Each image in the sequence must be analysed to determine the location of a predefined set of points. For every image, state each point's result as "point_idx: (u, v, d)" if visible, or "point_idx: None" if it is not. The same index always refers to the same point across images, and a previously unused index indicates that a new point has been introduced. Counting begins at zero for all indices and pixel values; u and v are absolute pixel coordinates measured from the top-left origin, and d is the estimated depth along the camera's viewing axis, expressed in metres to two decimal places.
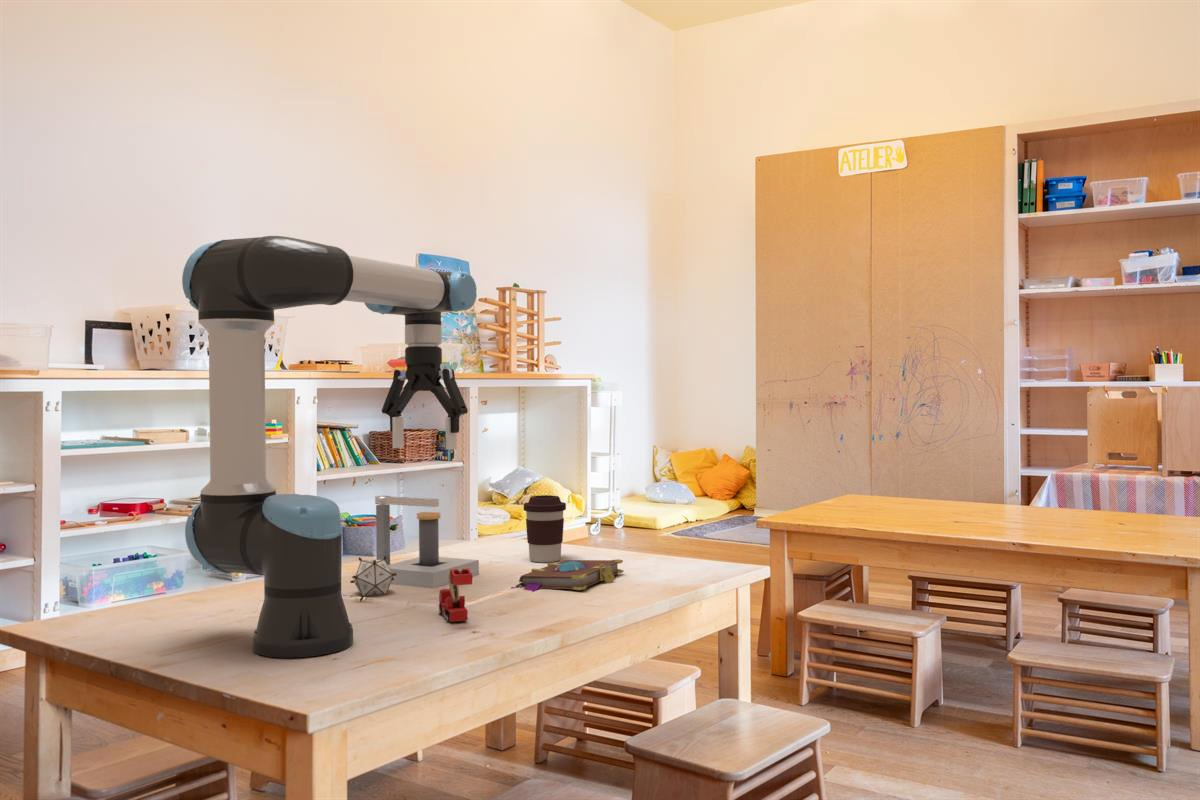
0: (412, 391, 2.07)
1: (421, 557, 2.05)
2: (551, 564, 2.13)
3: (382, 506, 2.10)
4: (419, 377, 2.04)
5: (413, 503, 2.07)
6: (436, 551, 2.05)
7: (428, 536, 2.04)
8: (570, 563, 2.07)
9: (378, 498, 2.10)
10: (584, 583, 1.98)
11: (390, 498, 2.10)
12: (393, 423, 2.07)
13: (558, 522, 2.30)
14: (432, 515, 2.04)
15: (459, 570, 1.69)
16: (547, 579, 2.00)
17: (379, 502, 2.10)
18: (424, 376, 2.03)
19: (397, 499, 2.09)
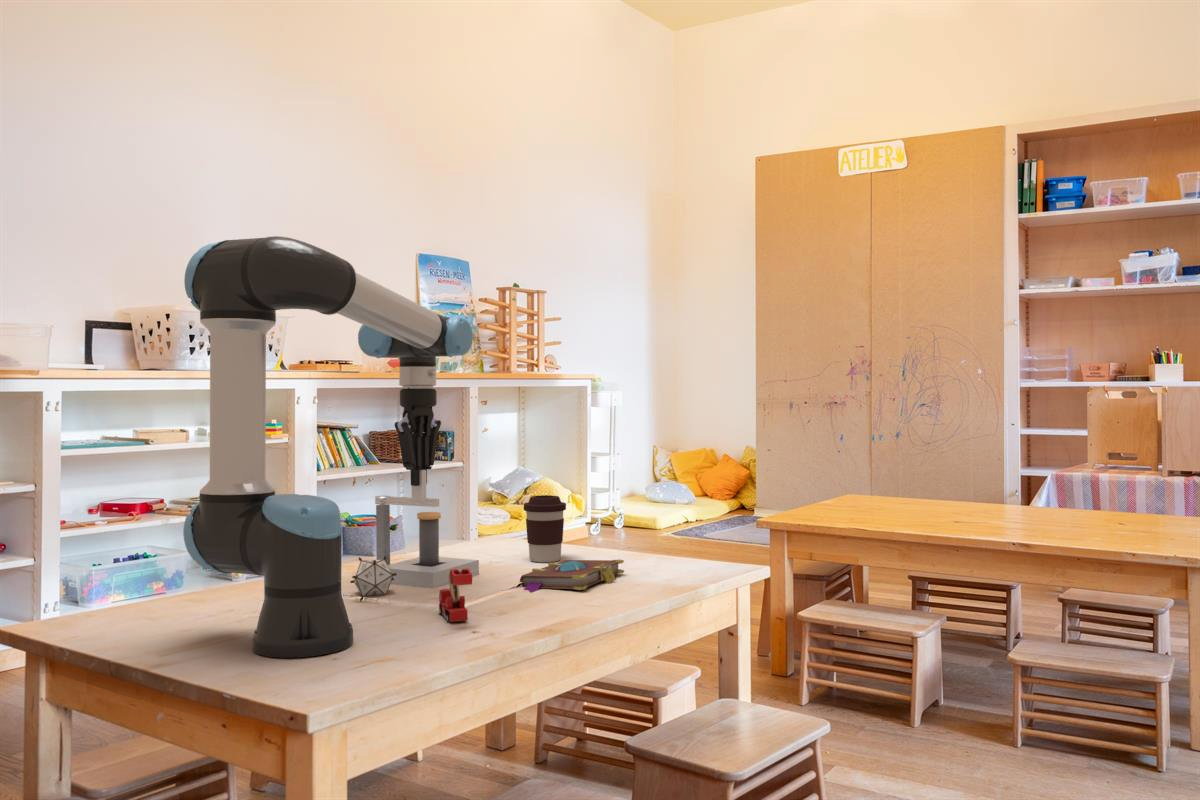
0: None
1: (421, 557, 2.05)
2: (552, 564, 2.13)
3: (382, 506, 2.10)
4: None
5: (413, 503, 2.07)
6: (436, 551, 2.05)
7: (429, 536, 2.04)
8: (571, 563, 2.07)
9: (378, 498, 2.10)
10: (585, 583, 1.98)
11: (390, 498, 2.10)
12: None
13: (558, 522, 2.30)
14: (432, 515, 2.04)
15: (459, 570, 1.69)
16: (548, 579, 2.00)
17: (379, 502, 2.10)
18: None
19: (397, 499, 2.09)
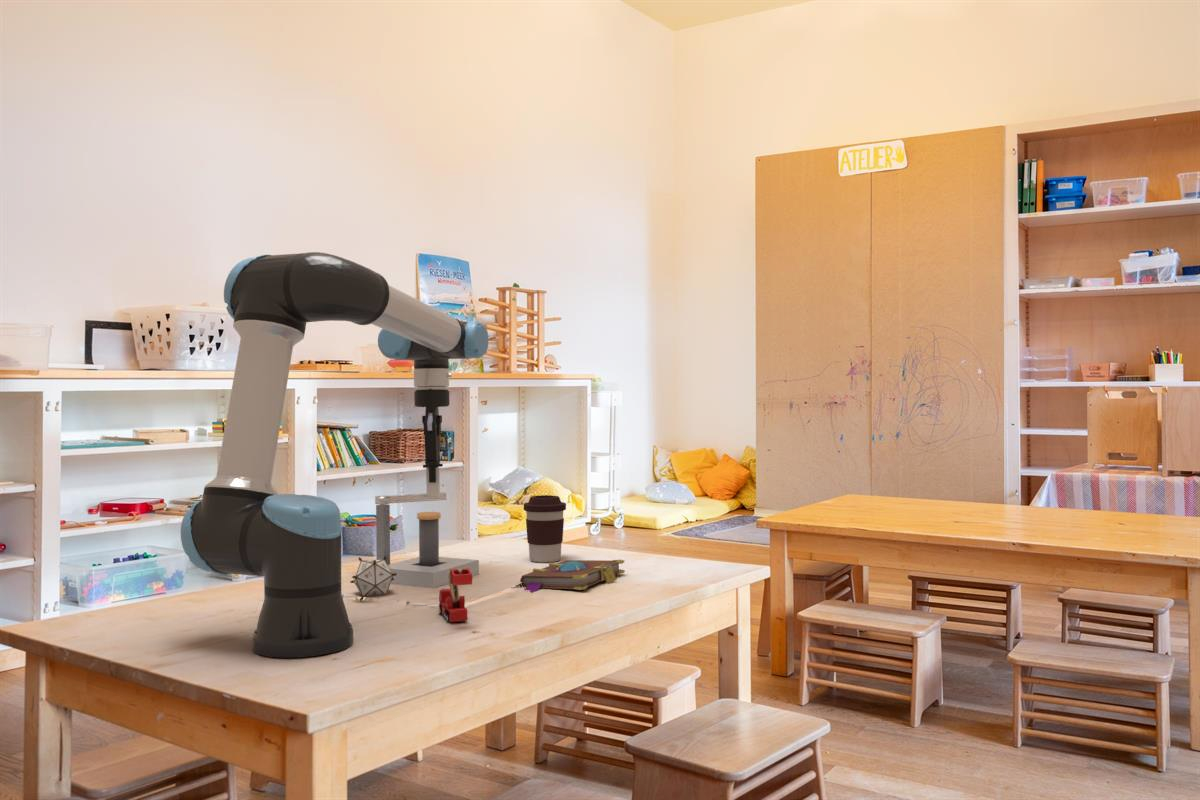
0: None
1: (421, 557, 2.05)
2: (552, 564, 2.13)
3: (382, 506, 2.10)
4: None
5: (423, 498, 2.15)
6: (436, 551, 2.05)
7: (428, 536, 2.04)
8: (571, 563, 2.07)
9: (385, 498, 2.10)
10: (585, 583, 1.98)
11: (396, 497, 2.12)
12: None
13: (558, 522, 2.30)
14: (432, 515, 2.04)
15: (459, 570, 1.69)
16: (548, 579, 2.00)
17: (386, 502, 2.10)
18: (422, 419, 2.13)
19: (404, 497, 2.13)
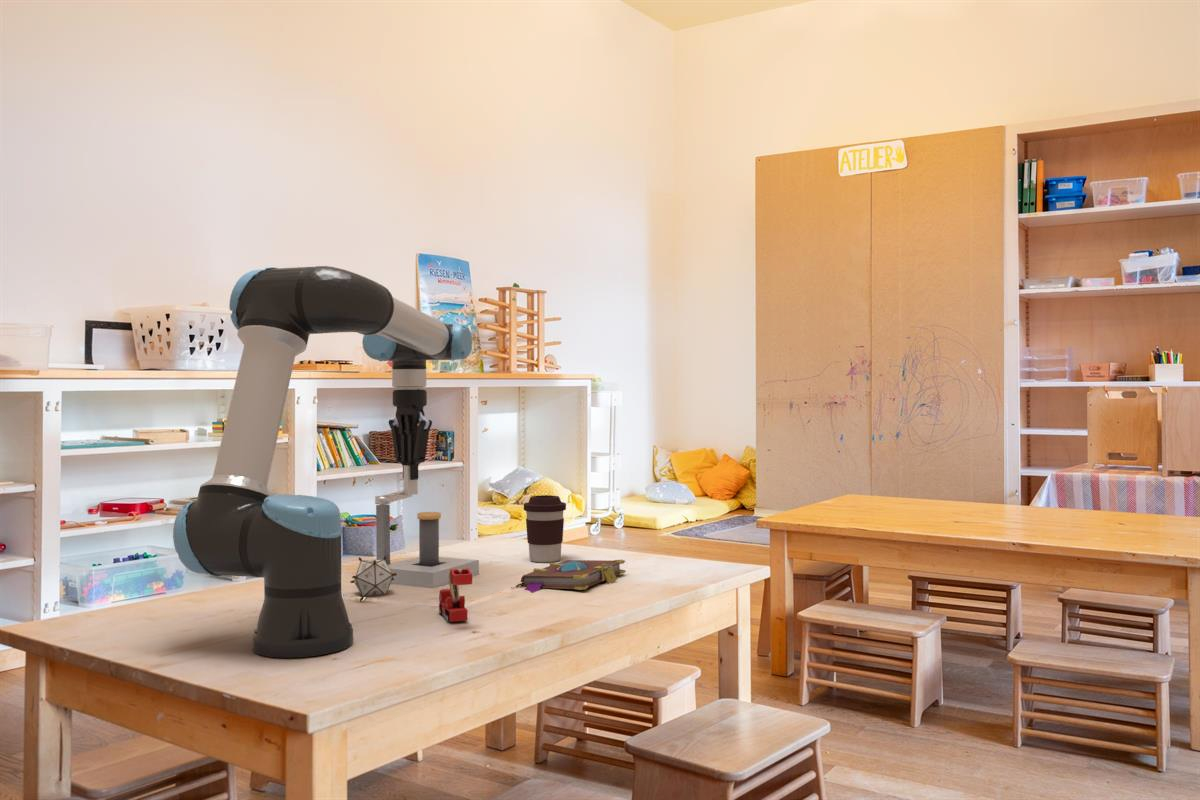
0: None
1: (421, 557, 2.05)
2: (553, 564, 2.13)
3: (382, 506, 2.10)
4: (404, 414, 2.21)
5: (402, 496, 2.20)
6: (436, 551, 2.05)
7: (429, 536, 2.04)
8: (572, 563, 2.06)
9: (389, 497, 2.11)
10: (586, 583, 1.98)
11: (391, 496, 2.14)
12: (404, 471, 2.20)
13: (558, 522, 2.30)
14: (432, 515, 2.04)
15: (459, 570, 1.69)
16: (549, 579, 1.99)
17: (390, 501, 2.11)
18: (407, 418, 2.19)
19: (394, 495, 2.16)
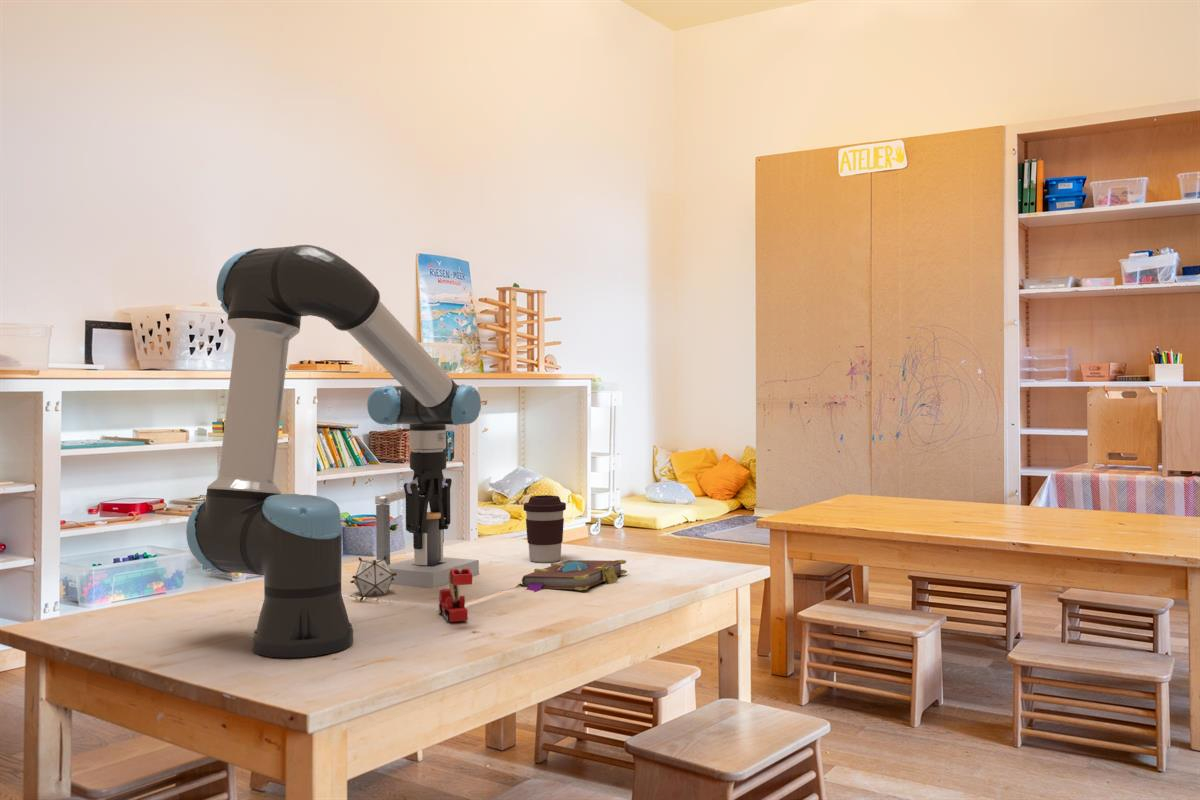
0: (433, 497, 2.07)
1: None
2: (554, 564, 2.13)
3: (382, 506, 2.10)
4: None
5: (401, 496, 2.20)
6: (436, 551, 2.05)
7: (428, 536, 2.04)
8: (573, 563, 2.06)
9: (390, 497, 2.11)
10: (586, 583, 1.98)
11: (391, 496, 2.14)
12: None
13: (558, 522, 2.30)
14: (432, 515, 2.04)
15: (459, 570, 1.69)
16: (549, 579, 1.99)
17: (390, 501, 2.12)
18: None
19: (394, 495, 2.16)
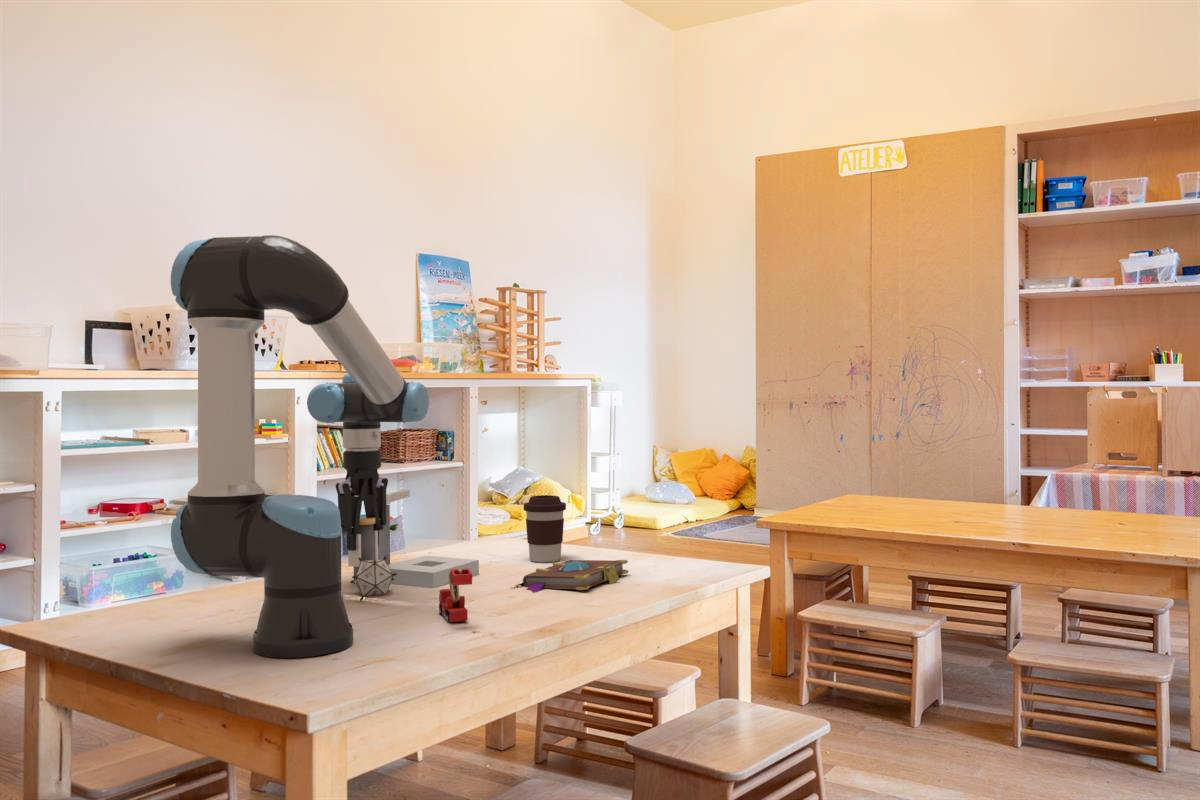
0: (367, 497, 2.02)
1: None
2: (556, 564, 2.13)
3: None
4: None
5: (401, 496, 2.20)
6: (370, 557, 2.00)
7: (362, 542, 1.99)
8: (574, 563, 2.06)
9: (390, 497, 2.11)
10: (587, 583, 1.98)
11: (391, 496, 2.14)
12: None
13: (558, 522, 2.30)
14: (366, 520, 1.99)
15: (459, 570, 1.69)
16: (550, 579, 1.99)
17: (390, 501, 2.12)
18: None
19: (394, 495, 2.16)
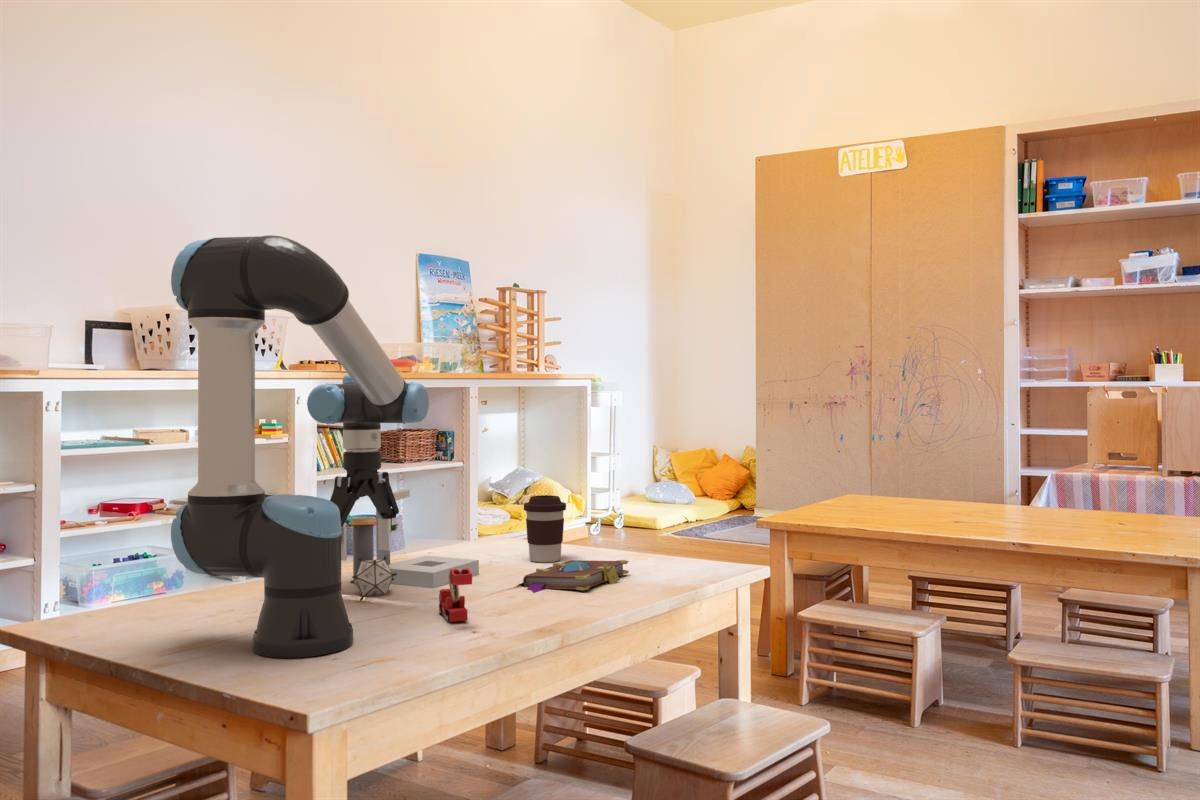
0: (372, 495, 2.04)
1: (355, 563, 2.00)
2: (556, 564, 2.13)
3: None
4: None
5: (401, 496, 2.20)
6: (370, 557, 2.00)
7: (362, 542, 1.99)
8: (575, 563, 2.06)
9: None
10: (588, 583, 1.98)
11: None
12: None
13: (558, 522, 2.30)
14: (365, 520, 1.99)
15: (459, 570, 1.69)
16: (551, 579, 1.99)
17: None
18: None
19: (394, 495, 2.16)
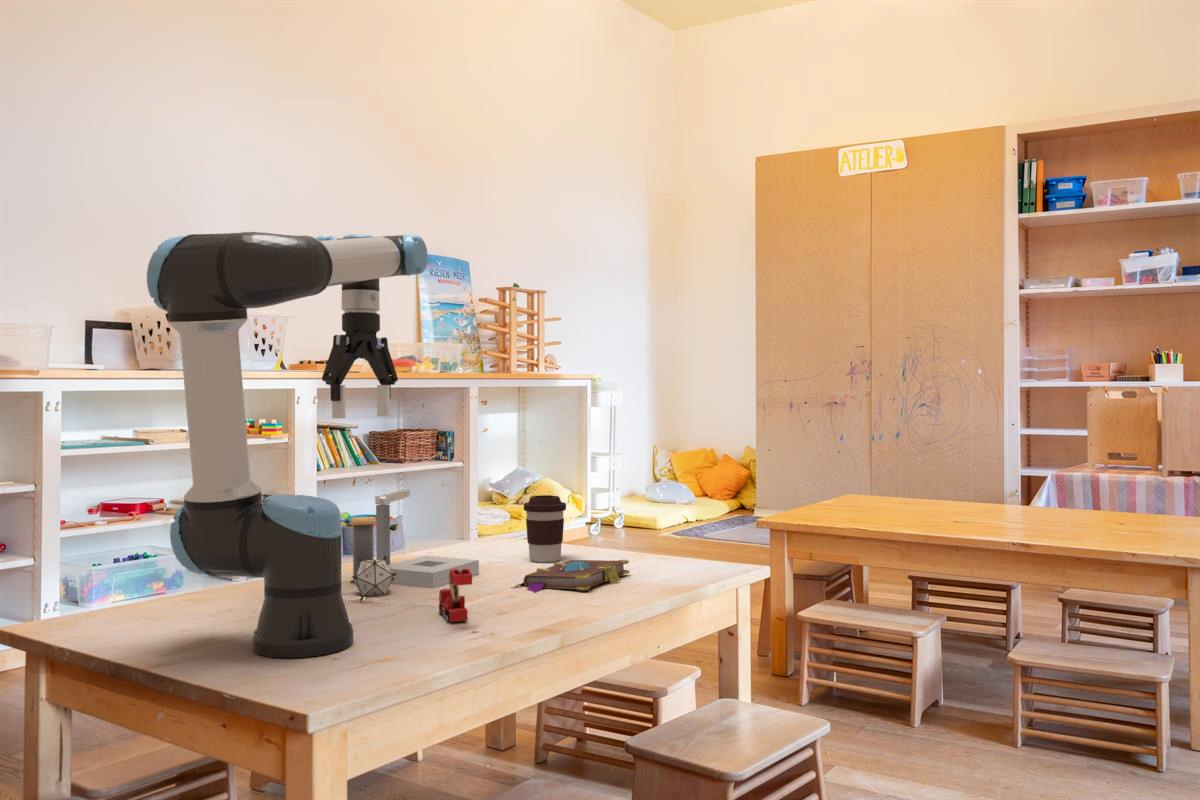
0: (371, 359, 2.03)
1: (355, 563, 2.00)
2: (557, 564, 2.13)
3: (382, 506, 2.10)
4: None
5: (401, 496, 2.20)
6: (370, 557, 2.00)
7: (362, 542, 1.99)
8: (575, 563, 2.06)
9: (390, 497, 2.11)
10: (588, 583, 1.98)
11: (391, 496, 2.14)
12: None
13: (558, 522, 2.30)
14: (365, 520, 1.99)
15: (459, 570, 1.69)
16: (551, 579, 1.99)
17: (390, 501, 2.12)
18: None
19: (394, 495, 2.16)
